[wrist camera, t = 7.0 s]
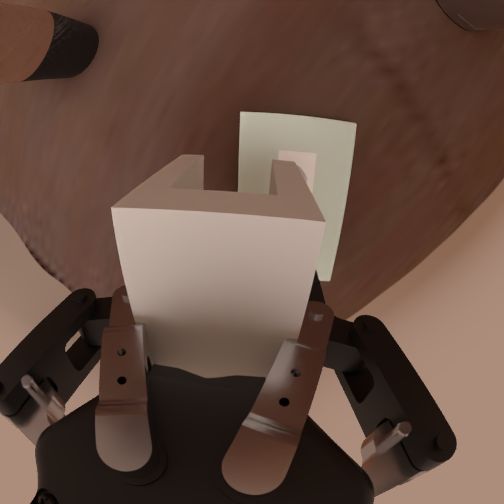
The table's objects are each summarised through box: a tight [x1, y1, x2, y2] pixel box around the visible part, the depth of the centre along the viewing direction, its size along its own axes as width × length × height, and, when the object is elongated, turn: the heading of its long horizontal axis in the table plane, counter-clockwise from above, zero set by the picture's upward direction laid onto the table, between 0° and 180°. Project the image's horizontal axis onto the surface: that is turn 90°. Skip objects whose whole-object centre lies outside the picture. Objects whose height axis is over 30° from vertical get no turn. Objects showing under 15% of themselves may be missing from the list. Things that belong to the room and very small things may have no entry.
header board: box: [238, 112, 357, 281], centre depth 27 cm, size 18×11×5 cm, turn 178°
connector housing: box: [111, 155, 326, 379], centre depth 11 cm, size 10×5×6 cm, turn 176°
